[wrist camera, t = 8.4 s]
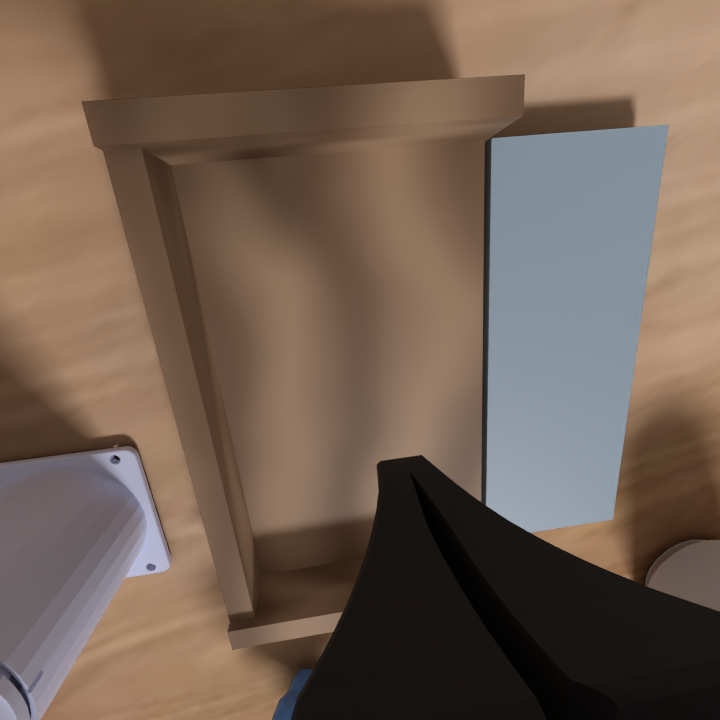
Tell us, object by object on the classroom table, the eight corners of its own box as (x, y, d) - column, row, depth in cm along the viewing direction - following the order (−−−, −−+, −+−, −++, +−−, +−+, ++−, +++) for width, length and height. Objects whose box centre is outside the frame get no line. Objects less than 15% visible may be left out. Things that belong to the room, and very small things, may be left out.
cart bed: (249, 572, 22) (232, 649, 18) (148, 143, 15) (81, 101, 11) (470, 536, 23) (505, 600, 19) (470, 120, 16) (524, 74, 12)
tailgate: (485, 539, 21) (612, 519, 22) (491, 138, 15) (668, 124, 16) (480, 529, 22) (602, 510, 23) (483, 143, 16) (652, 130, 17)
